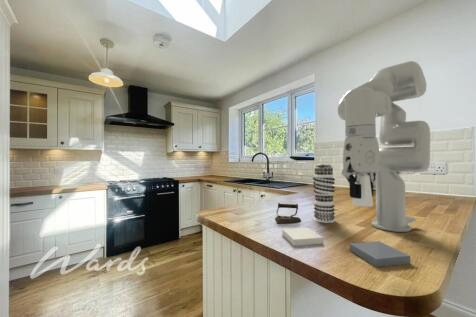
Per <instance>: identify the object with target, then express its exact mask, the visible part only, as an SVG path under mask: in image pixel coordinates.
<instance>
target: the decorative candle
mask: <svg viewBox="0 0 476 317" xmlns="http://www.w3.org/2000/svg"><path fill="white" fill-rule="evenodd" d="M333 169H334V168H333V166H332V165H331V164H330V163H318V164H316V165H315V167H314V174H313V175H314V176H313V177H312V180H313V183H312V184H313V188H314V189H313V194H314V204H313V206H314V208H313V209H314V211H313V213H314V215H313V217H314V218H313V219H314V221H316V222H318V223H324V224H329V223H330V224H331V223H335V220H336V219H335V217H336V216H335V215H336V214H335V204H334V202H335V201H334V195H335V193H334V192H335V190H334V189H335V186H334V185H335V180H336V179H335V178H334V172H333V171H334V170H333Z"/></svg>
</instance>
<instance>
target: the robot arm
mask: <svg viewBox="0 0 476 317" xmlns="http://www.w3.org/2000/svg"><path fill="white" fill-rule="evenodd" d="M426 92H427V80H426V78H425V75H424V71H423V69H422V67H421V65H420V64H419V63H418V62H416V61H413V60H410V61H406V62H402V63H398V64H394V65H391V66H387V67H384V68H381V69H380V70H377V71H376V72H375V74H373V76H372V77H371V79H370V80H369V81H367V82H365V83H362V84H361V85H359V86H357V87H356V88H353V89H350V90H348V91H347V92H346V93H345V95H343V97H342V98H341V99H340V101H339V102H338V106H337V114H338V117H339V118H340V120H343V121H344V126H345V131H344V132H345V133H344V134H345V138H344V142H343V143H344V144H343V151H342V152H343V153H342V166H343V167H342V171H341V175H342V176H343V177H345V179H346V180H347V183H348V184H349V197H350V198H352V199H353V198H358V199H360V198H361V184H359V181H360V173H367V175H369V177H370V184H371V192H372V198H373V197H374V182H375V219H373V220H372V221H371V225H372V226H373V227H375V228H376V229H379V230H383V231H389V232H395V233H396V232H397V233H407V232H411V230H412V228H411V227H412V226H410V225H409V223H415V222H416V220H417V219H416V217H414V216H407V215H406V183H405V181H404V179H403V178H402V177H401V175H399V174H398V173H423V172H426V171H427V170H429V168H430V164H431V163H430V162H431V128H430V126H429V124H428V123H427V122H426V121H424V120H411V121H410V120H409V121H406V120H407V112H406V111H405V109H403V108H402V107H401V106H399V104H398V105H397V104H396V103H394V102H400V101H405V100H412V99H416V98H420V97H422V96H424V95H425V93H426ZM379 117H380V124H379V125H380V126H379V137H378V138H379V139H378V138H377V134H376V132H377V130H376V129H377V128H376V125H377V124H376V122H377V121H376V118H379ZM378 140H379V142H378ZM379 143H380V144H381V145H382V146H385V147H382V148H380V146H379ZM355 175H356V176H355Z"/></svg>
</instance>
